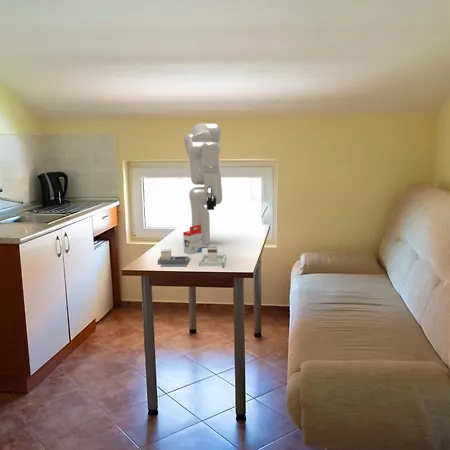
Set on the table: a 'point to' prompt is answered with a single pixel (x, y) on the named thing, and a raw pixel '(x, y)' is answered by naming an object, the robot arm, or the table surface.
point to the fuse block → (172, 259)
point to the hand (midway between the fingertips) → (211, 208)
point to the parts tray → (213, 262)
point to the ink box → (193, 240)
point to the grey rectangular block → (212, 253)
